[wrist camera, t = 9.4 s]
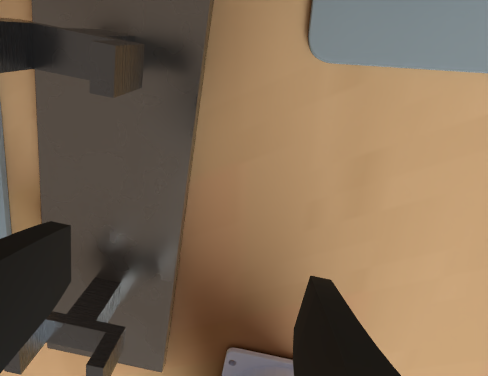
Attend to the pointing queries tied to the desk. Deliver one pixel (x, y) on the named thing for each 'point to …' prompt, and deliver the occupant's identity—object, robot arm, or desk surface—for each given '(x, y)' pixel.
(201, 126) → the desk surface
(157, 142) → the hook rack
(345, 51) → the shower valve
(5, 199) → the mat
